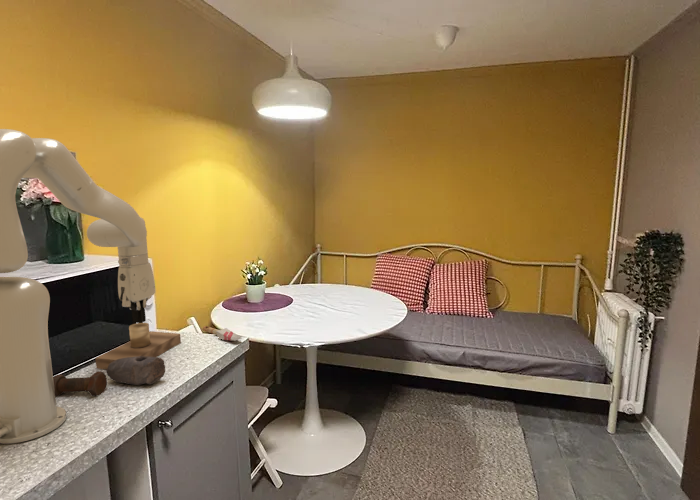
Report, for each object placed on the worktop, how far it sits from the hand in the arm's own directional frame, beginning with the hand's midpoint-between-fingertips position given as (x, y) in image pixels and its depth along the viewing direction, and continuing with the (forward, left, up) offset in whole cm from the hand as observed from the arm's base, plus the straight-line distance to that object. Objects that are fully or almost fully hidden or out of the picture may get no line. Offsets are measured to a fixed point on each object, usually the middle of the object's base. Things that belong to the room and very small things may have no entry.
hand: (139, 321), depth 125 cm
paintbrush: (+18, -15, -10) cm, 26 cm away
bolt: (-24, 0, -11) cm, 26 cm away
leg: (0, 0, -10) cm, 10 cm away
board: (0, 0, -10) cm, 10 cm away
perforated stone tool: (-16, -11, -10) cm, 22 cm away
